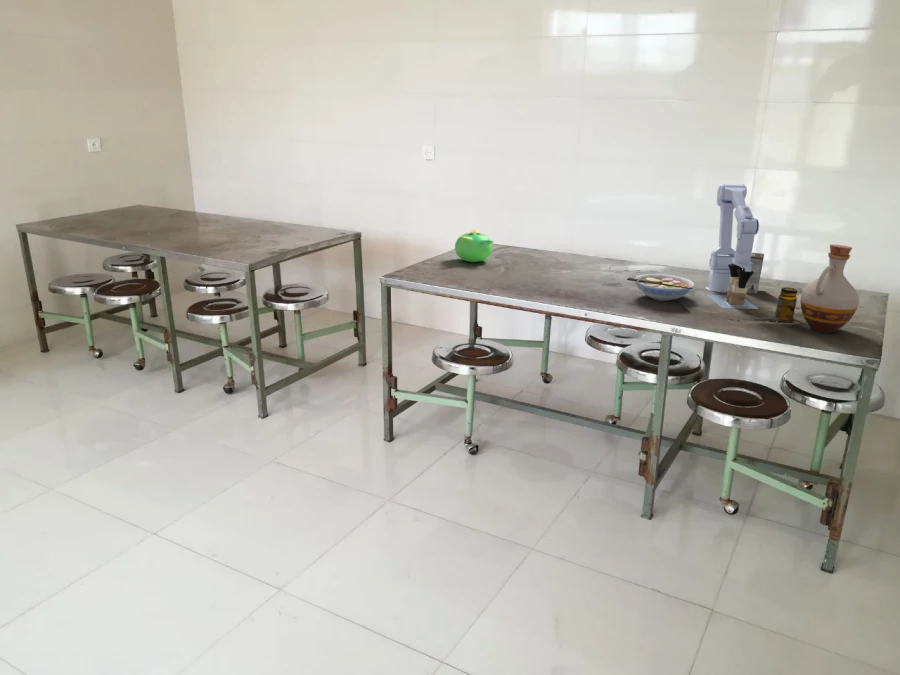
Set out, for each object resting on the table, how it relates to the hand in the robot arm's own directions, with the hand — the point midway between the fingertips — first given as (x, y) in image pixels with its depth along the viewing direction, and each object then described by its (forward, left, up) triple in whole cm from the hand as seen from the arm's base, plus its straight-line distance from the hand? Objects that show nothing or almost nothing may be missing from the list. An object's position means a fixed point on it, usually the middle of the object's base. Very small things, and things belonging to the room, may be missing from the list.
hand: (737, 285), depth 260 cm
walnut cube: (0, 0, -7) cm, 7 cm away
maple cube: (0, 0, -2) cm, 2 cm away
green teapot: (-64, -101, -9) cm, 120 cm away
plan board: (-3, 0, -8) cm, 9 cm away
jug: (+26, +21, -9) cm, 35 cm away
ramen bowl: (-8, -26, -9) cm, 29 cm away
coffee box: (-21, +14, -9) cm, 27 cm away
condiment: (+16, +11, -9) cm, 21 cm away
